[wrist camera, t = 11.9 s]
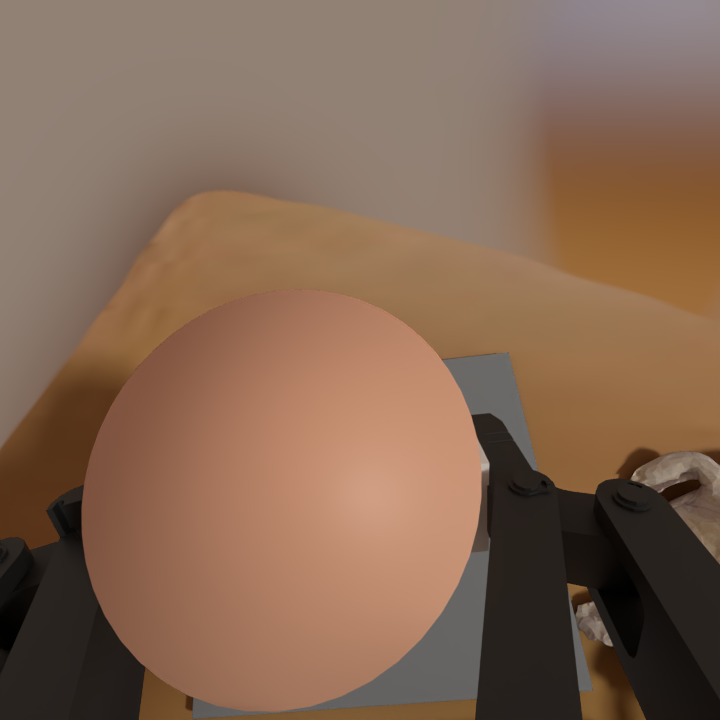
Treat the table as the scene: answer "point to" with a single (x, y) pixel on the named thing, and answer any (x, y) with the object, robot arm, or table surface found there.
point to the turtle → (697, 508)
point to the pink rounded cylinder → (281, 500)
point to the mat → (466, 606)
